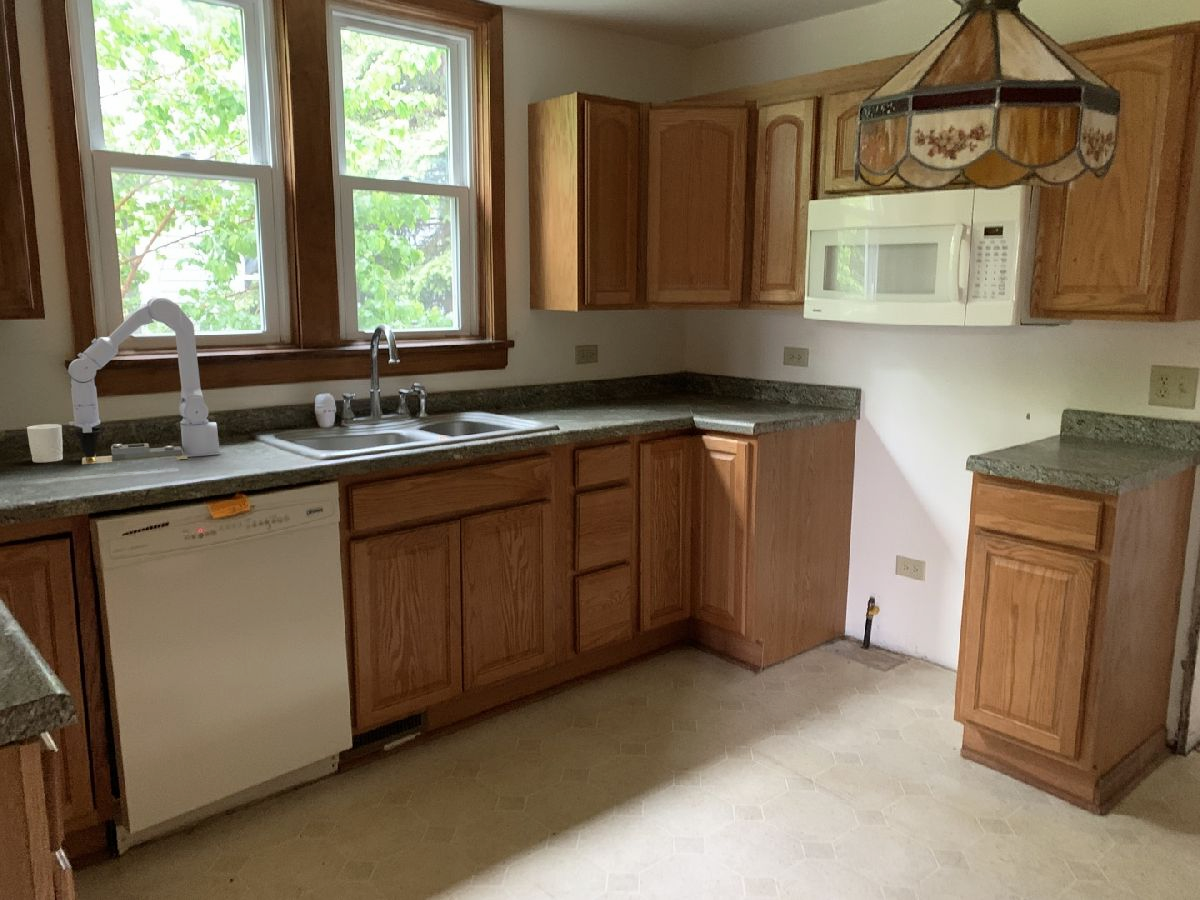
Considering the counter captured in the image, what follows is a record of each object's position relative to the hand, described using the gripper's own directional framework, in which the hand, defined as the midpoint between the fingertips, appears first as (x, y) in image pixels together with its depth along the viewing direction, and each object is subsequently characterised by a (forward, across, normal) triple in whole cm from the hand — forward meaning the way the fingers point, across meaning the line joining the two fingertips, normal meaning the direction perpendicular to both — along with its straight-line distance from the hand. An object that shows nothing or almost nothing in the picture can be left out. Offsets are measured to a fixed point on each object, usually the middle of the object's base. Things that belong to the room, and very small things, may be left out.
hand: (90, 455), depth 240 cm
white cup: (+2, -6, -10) cm, 12 cm away
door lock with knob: (+2, 0, +11) cm, 11 cm away
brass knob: (+1, 0, 0) cm, 1 cm away
